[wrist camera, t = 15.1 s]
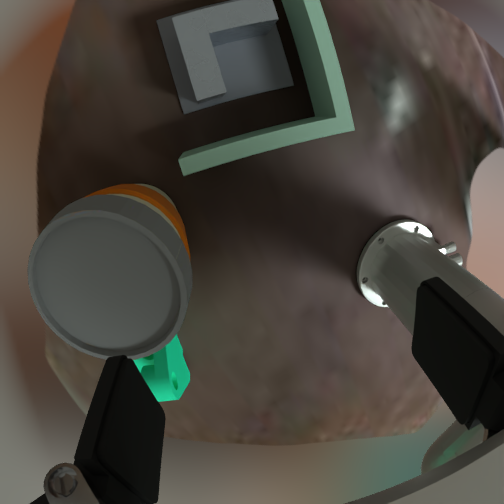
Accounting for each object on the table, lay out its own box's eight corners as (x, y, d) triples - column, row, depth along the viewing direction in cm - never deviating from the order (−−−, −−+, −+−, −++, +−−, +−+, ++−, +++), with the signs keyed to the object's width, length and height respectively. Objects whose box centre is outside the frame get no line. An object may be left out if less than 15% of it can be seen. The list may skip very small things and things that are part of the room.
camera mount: (109, 308, 37) (87, 363, 28) (164, 298, 38) (155, 355, 29) (140, 375, 42) (131, 430, 33) (190, 368, 43) (189, 425, 34)
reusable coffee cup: (72, 243, 33) (13, 316, 20) (116, 145, 30) (53, 170, 16) (164, 291, 37) (149, 384, 24) (218, 202, 34) (227, 264, 20)
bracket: (177, 34, 26) (171, 17, 20) (259, 14, 26) (270, -5, 20) (198, 104, 29) (197, 100, 24) (280, 82, 29) (296, 75, 24)
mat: (265, -5, 25) (265, -6, 25) (293, 85, 30) (293, 85, 29) (156, 21, 25) (156, 20, 25) (184, 114, 30) (184, 114, 29)
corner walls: (282, -35, 24) (296, -58, 18) (330, 126, 32) (354, 130, 27) (137, -3, 23) (125, -23, 18) (187, 165, 32) (183, 176, 26)
